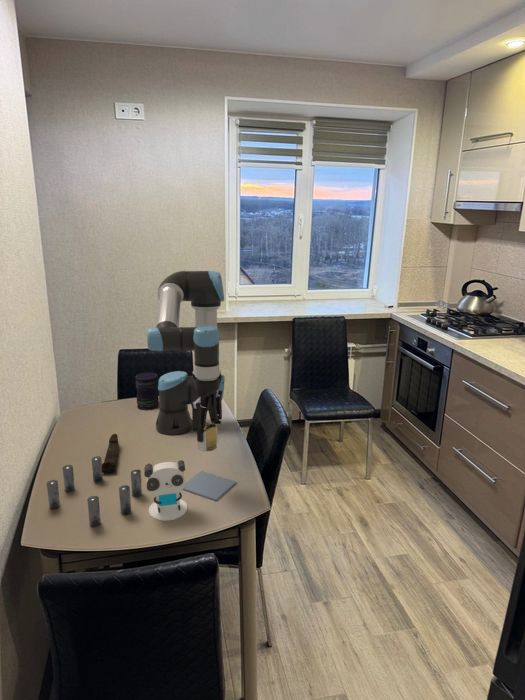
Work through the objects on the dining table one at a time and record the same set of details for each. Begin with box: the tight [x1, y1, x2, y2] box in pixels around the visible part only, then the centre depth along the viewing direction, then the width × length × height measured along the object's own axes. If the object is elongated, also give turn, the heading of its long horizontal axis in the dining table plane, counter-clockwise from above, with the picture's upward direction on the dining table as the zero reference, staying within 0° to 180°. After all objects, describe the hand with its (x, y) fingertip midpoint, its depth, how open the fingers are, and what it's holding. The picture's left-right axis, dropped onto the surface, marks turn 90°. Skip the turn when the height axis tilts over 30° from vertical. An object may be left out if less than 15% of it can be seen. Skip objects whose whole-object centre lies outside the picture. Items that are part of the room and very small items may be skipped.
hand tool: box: [102, 433, 119, 475], centre depth 171 cm, size 23×5×6 cm, turn 8°
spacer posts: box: [46, 455, 143, 528], centre depth 145 cm, size 20×27×8 cm
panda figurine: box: [143, 459, 188, 522], centre depth 141 cm, size 12×11×15 cm
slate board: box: [182, 470, 237, 502], centre depth 155 cm, size 12×14×1 cm
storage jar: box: [135, 372, 159, 411], centre depth 218 cm, size 10×10×15 cm
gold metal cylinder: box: [204, 422, 218, 452], centre depth 150 cm, size 6×6×7 cm
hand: (207, 446), depth 151 cm, fingers closed on gold metal cylinder, 5 cm apart
